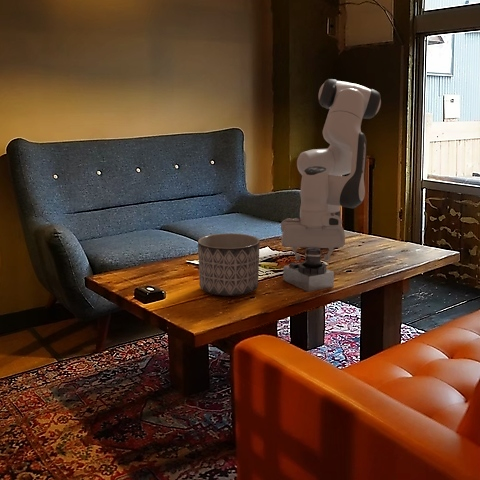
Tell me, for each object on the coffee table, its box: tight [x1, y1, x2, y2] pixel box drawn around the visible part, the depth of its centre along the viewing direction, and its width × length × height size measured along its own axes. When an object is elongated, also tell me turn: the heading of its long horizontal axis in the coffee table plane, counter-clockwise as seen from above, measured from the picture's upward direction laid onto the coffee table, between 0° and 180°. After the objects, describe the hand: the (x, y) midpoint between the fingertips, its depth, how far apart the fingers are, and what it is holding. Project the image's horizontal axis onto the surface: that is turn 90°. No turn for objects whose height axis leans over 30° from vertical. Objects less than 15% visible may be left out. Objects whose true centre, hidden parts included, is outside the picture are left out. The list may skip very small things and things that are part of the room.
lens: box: [304, 247, 322, 268], centre depth 200 cm, size 5×5×7 cm
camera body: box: [282, 261, 335, 293], centre depth 204 cm, size 14×10×7 cm
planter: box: [197, 232, 261, 297], centre depth 195 cm, size 19×19×16 cm
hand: (312, 260), depth 201 cm, fingers open, 8 cm apart
